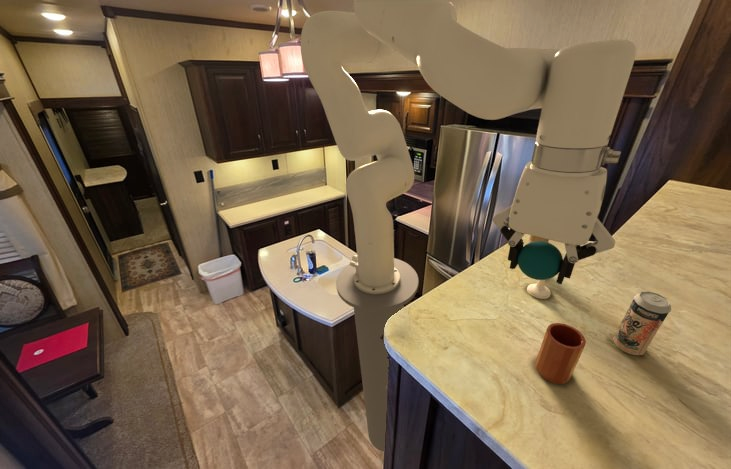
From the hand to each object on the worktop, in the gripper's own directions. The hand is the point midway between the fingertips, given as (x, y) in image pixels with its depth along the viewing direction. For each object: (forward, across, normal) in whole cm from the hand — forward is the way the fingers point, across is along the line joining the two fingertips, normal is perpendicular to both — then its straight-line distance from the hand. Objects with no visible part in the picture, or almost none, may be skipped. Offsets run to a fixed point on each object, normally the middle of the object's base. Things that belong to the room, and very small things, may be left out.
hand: (536, 270), depth 45 cm
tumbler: (+20, -6, -1) cm, 21 cm away
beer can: (+21, -16, -15) cm, 30 cm away
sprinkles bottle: (+20, +5, -32) cm, 38 cm away
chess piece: (+20, +1, -22) cm, 30 cm away
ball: (+1, 0, 0) cm, 1 cm away
